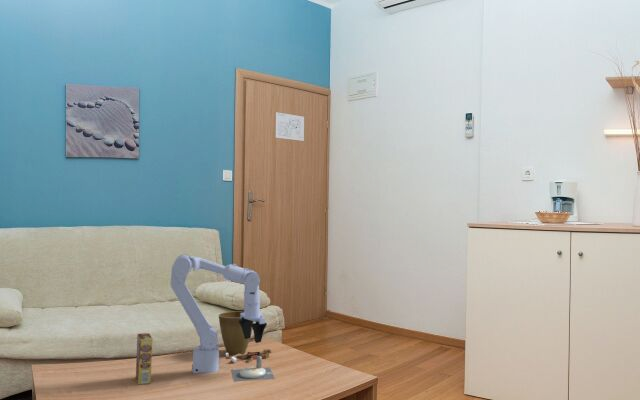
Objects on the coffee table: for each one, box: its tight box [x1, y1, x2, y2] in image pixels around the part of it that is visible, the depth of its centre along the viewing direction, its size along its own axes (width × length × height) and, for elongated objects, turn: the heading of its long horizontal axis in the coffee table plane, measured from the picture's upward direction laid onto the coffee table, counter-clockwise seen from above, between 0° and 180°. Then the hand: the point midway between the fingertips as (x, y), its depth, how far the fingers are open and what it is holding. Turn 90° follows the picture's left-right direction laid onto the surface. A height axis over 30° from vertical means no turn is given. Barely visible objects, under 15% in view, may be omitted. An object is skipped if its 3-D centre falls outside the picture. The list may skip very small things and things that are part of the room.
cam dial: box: [240, 356, 266, 378], centre depth 178 cm, size 9×9×5 cm
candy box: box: [135, 332, 154, 385], centre depth 174 cm, size 9×4×15 cm, turn 26°
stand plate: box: [231, 367, 276, 383], centre depth 178 cm, size 14×13×1 cm
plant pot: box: [218, 310, 255, 356], centre depth 209 cm, size 15×15×16 cm
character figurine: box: [225, 348, 272, 364], centre depth 198 cm, size 10×18×4 cm, turn 116°
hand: (252, 340), depth 187 cm, fingers open, 7 cm apart
